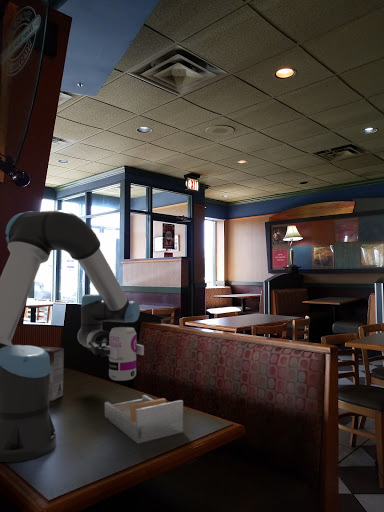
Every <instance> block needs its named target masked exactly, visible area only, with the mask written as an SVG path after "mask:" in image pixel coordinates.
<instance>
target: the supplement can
mask: <svg viewBox="0 0 384 512" xmlns="http://www.w3.org/2000/svg"><path fill="white" fill-rule="evenodd" d="M136 340H137V332H136V330H135V327H130V326H126V327H125V326H119V327H118V326H117V327H113V328H111V330H110V334H109V346H110V347H113V348H115V349H117V359H114V358H112V357H109V356H108V376H109V378H110V379H111V380H113V381H116V382H117V381H119V382H121V381H122V382H123V381H130V380H133V379H134V378H135V377H136V376H137V353H136Z"/></svg>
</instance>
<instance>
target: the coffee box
mask: <svg viewBox="0 0 384 512" xmlns="http://www.w3.org/2000/svg"><path fill="white" fill-rule="evenodd" d="M38 347H39V348H42V349H44V350H46V351H47V353H48V354H49V359H50V368H51V370H50V390H49V402H50V401H54V400H55V401H56V399H58V398H60V397H62V396H64V394H63V393H64V391H63V390H64V362H65V361H64V357H65V355H64V354H65V348H63V347H53V346H44V345H43V346H38Z"/></svg>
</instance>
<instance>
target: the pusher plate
mask: <svg viewBox="0 0 384 512" xmlns="http://www.w3.org/2000/svg"><path fill="white" fill-rule="evenodd" d="M163 403H167V399H166V398H164V397H162V398H158V399H153V400H152V401H147V402H142V403H136V404H131V405H130V418H131V419H132V420H134V421H135V422H136V409H139V408H144V407H149V406H154V405H159V404H163Z"/></svg>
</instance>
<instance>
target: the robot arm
mask: <svg viewBox="0 0 384 512" xmlns="http://www.w3.org/2000/svg"><path fill="white" fill-rule="evenodd" d="M5 235H6V237H5V240H6V243H7V249H8V251H9V253H10V254H9V256H8V259H7V261H6V264H5V266H4V268H3V270H2V273H1V274H0V463H17V462H18V463H19V462H24V461H29V460H32V459H36V458H40V457H42V456H44V455H47V454H48V453H49V452H50V451H52V450H53V449H54V448H55V447H56V446H57V432H56V428H55V425H54V423H53V420H52V417H51V413H50V400H49V390H50V370H51V368H50V359H49V354H48V353H47V351H46V350H44V349H42V348H39V347H40V346H35V345H27V344H26V345H23V344H13V343H12V340H13V337H14V335H15V331H16V329H17V326H18V323H19V321H20V319H21V316H22V314H23V311H24V308H25V305H26V303H27V302H28V301H27V300H28V298H29V295H30V293H31V290H32V288H33V284H34V282H35V279H36V276H37V274H38V271H39V269H40V267H41V264H43V263H46V262H48V261H49V259H50V255H51V253H52V251H65V252H66V253H68V254H69V256H70V257H71V258H72V260H75V261H78V263H79V265H80V266H81V268H82V270H83V271H84V273H85V274H86V276H87V277H88V278H87V279H89V281H90V283H91V284H92V286H93V287H94V289H95V290H96V292H97V293H98V294H85V295H83V296H82V297H81V305H80V313H81V314H80V318H81V319H80V322H81V323H80V324H81V325H80V329H79V330H78V332H77V341H78V342H79V344H81V345H82V346H83V347H85V348H87V350H88V351H90V352H92V353H93V354H94V355H96V356H98V355H101V358H106V356H107V357H108V358H109V357H112V358H114V359H117V349H115V348H113V347H110V346H109V334H110V332H111V331H110V332H109V331H106V330H104V329H103V322H114V323H135V322H137V320H138V319H139V317H140V313H141V307H140V305H139V303H138V302H137V301H135V300H134V301H133V300H129V299H128V296H127V295H126V293H125V291H124V290H123V288H122V286H121V285H120V283H119V281H118V279H117V277H116V275H115V273H114V272H113V269H112V268H111V266H110V264H109V262H108V261H107V259H106V257H105V256H104V254H103V252H102V250H101V242H100V239H99V237H98V236H97V234H96V232H94V230H93V228H91V227H90V226H89V225H88V223H87V222H86V221H84V220H83V219H82V218H80V217H79V216H78V215H76V214H75V213H72V212H70V211H67V210H63V209H60V210H59V209H58V210H56V209H55V210H43V211H26V212H20V213H17V214H16V215H14V216H12V217H11V218H10V220H9V221H8V223H7V224H6V228H5ZM136 355H139V356H144V355H145V346H144V345H143V344H142V342H141V341H139V340H137V339H136Z"/></svg>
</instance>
